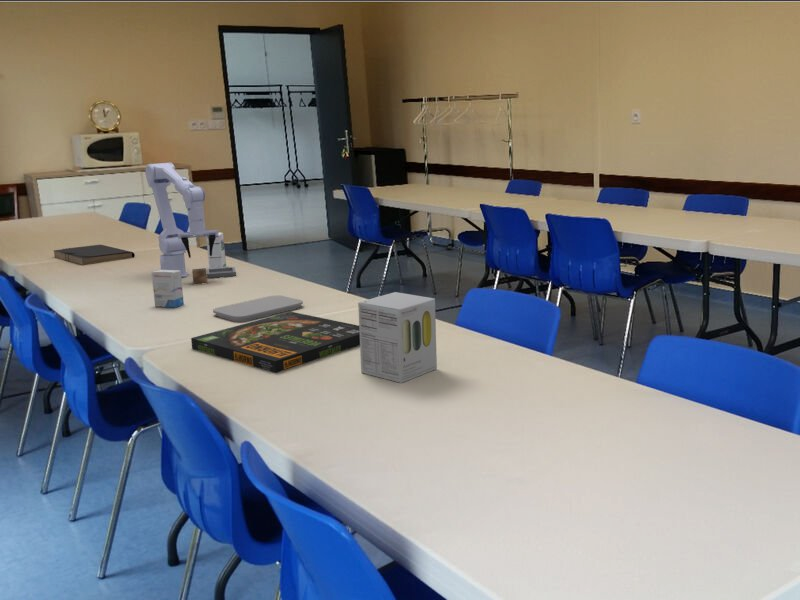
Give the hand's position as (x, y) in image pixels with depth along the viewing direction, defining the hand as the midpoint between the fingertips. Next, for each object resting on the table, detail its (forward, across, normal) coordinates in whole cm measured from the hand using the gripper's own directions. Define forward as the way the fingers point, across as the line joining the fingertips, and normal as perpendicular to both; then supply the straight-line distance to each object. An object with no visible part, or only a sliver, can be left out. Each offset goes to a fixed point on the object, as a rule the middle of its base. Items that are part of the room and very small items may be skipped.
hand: (200, 256), depth 303 cm
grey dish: (+10, +8, +12) cm, 17 cm away
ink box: (+11, -13, -34) cm, 38 cm away
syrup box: (+10, +7, +27) cm, 30 cm away
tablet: (+12, +14, -54) cm, 58 cm away
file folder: (+8, -44, +82) cm, 93 cm away
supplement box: (+14, +38, -130) cm, 136 cm away
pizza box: (+13, +16, -96) cm, 98 cm away
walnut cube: (+10, -1, 0) cm, 10 cm away
